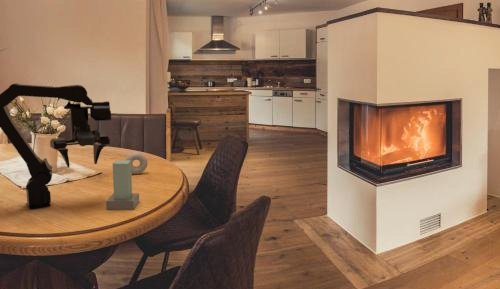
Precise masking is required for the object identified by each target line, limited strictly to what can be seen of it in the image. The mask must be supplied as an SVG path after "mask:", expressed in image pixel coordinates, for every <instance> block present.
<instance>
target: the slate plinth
mask: <svg viewBox="0 0 500 289" xmlns="http://www.w3.org/2000/svg"><path fill="white" fill-rule="evenodd" d="M105 202H106V204H105V205H106V211H107V210H108V211H109V210H110V211H111V210H113V211H114V210H115V211H116V210H117V211H119V210H120V211H121V210H123V211H124V210H127V211H128V210H131V211H133V210H135V208H136V207H137V205H138V204H139V203H140V193H139V192H137V193H136V192H135V193H134V192H132V196H131V197H130V199H114V192H113V193H112V194H111V195H110V197H109V198H108V199H107V200H106V201H105Z"/></svg>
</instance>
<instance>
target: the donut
mask: <svg viewBox="0 0 500 289" xmlns="http://www.w3.org/2000/svg"><path fill="white" fill-rule="evenodd" d="M125 160H131V174H133V175H139V174H142V173H143V172H145V171H146V169H147V167H148V158H147V157H146V155H144V154H143V153H141V152H135V151H134V152H131V153H129V155H127V156H126V158H125ZM134 161H138V162H139V165H138V166H134V165H133V162H134Z"/></svg>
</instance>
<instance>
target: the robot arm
mask: <svg viewBox="0 0 500 289" xmlns="http://www.w3.org/2000/svg"><path fill="white" fill-rule="evenodd" d="M18 97H34V98H51V99H52V98H53V99H55V98H56V99H61V100H64V101H68V102H67V104H65V105H64V106H63V109H64V110H69V114H70V115H69V116H70V124H69V125H70V131H71V135H70V138H71V139H65V138H63V137H57V138H51V139H50V141H49V145H50V146H49V147H50V148H52V149H54V150H56V151H57V152H59V153H60V155H61V157H62V158H63V161H64V163H65V164H66V167H67V168H70V159H69V149H68V148H67V147H68V146H74V145H79V146H80V147H85V146H93V150H92V151H93V164H94V165H97V164H98V160H99V157H100V154H101V152H102V150H103V149H104V148H105V147H107V145H110V144H111V138H110V136H108V135H107V134H101V132H100V130H99V129H95V130H92V129H91V125H90V122H89V121H90V120H89V117H90V119H92V120H93V122H106V121H107V122H111V121H112V111H111V106H110V104H111V103H110V101H109V100H108V101H95V102H94V101H93V99H91V98H90V97H89V96H88V91H87V90H86V88H85V86H83V85H80V84H72V85H64V86H62V85H61V86H52V85H51V86H49V85H48V86H47V85H37V84H36V85H35V84H21V83H17V82H16V83H12V84H10V85H9V86H8V88H6V89H5V90H4V91H2V92H1V93H0V129H1V130H2V132H3V134H4V135H5V136H6V137H7V139H8V140H9V141H10V143H11V144H12V146H13V147H14V149H15V150H16V152H17V154H19V155H20V157H21V158H22V160H23V161H24V162H25V165H26V167H27V169H28V173H29V175H30V178H29V179H28V181H27V183H26V184H25V188H26V189H25V191H26V201H27V202H26V203H25V204H26V206H27V208H28V209H29V210H34V209H38V208H43V207H45V208H46V207H50V206H52V205H51V203H52V201H51V200H52V198H51V191H50V190H49V186H48V185H49V184H50V183H51V181H52V178H53V174H54V173H53V166H52V165H50V163H49V161H48V159H47V158H46V157H45V158H43V159H41V158H40V157H39V156H38V155H37V154H36V152H35V151H34V150H33V148H32V147H31V145H30V144H29V142H28V141H27V139H26V138H25V137H24V135H23V134H22V132H21V130H20V129H19V128H18V127H17V125H16V124H15V123H14V120H13V118H12V115H11V112H10V109H9V108H8V105H10V103H12V102H13V101H15V100H16V99H17V98H18ZM72 102H73V103H72ZM81 104H84V105H85V106H84V105H83V106H82V105H81ZM89 115H90V116H89Z"/></svg>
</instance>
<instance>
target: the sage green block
mask: <svg viewBox="0 0 500 289" xmlns="http://www.w3.org/2000/svg"><path fill="white" fill-rule="evenodd" d="M132 176H133V175H132V173H131V160H126V159H124V160H123V159H121V160H120V159H119V160H117V159H116V160H115V161H113V163H112V181H113V183H112V184H113V186H112V187H113V193H114V199H130V197H131V196H132V193H133V183H132V182H133V180H132Z"/></svg>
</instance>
